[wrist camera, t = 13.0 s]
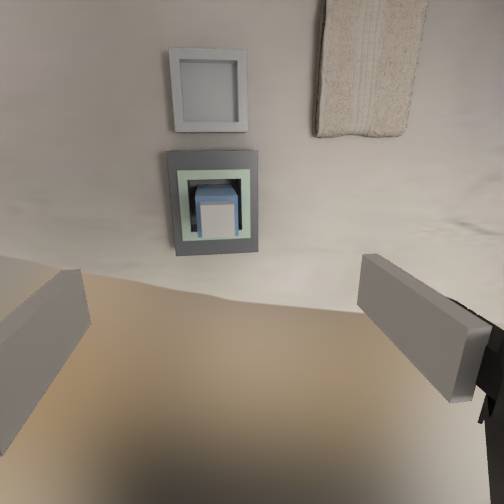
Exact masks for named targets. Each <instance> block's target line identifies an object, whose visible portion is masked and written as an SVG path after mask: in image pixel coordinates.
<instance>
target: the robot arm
mask: <svg viewBox="0 0 504 504" xmlns="http://www.w3.org/2000/svg"><path fill="white" fill-rule="evenodd" d="M357 305H358V306H359V307H360V308H361V309H362V310H363V311H364V312H365V313H366V315H367V316H368V317H369V318H370V319H371V320H372V321H373V322H374V323H375V324H376V325H377V326H378V327H379V328H380V329H381V330H382V332H383V333H384V334H385V335H386V336H387V337H388V338H389V339H390V340H391V341H392V342H393V343H394V344H395V345H396V346H397V347H398V349H399V350H400V351H401V352H402V353H403V354H404V355H405V356H406V357H407V358H408V359H409V360H410V361H411V362H412V363H413V365H414V366H415V367H416V368H417V369H418V370H419V371H420V372H421V373H422V374H423V375H424V376H425V377H426V378H427V379H428V380H429V382H430V383H431V384H432V385H433V386H434V387H435V388H436V389H437V390H438V391H439V392H440V393H441V394H442V395H443V396H444V398H445V399H446V400H447V401H448V402H449V403H458V402H466V401H472V398H473V394H474V391H475V387H476V385H477V386H478V387H479V388H481V389H482V390H483V391H484V392H485V393H486V396H485V399H484V403H483V406H482V410H481V413H480V416H479V420H478V423H480V424H482V423H483V420H485V434H486V446H487V460H488V473H489V486H490V499H491V504H504V330H502V329H500V328H499V327H497V326H496V325H494V324H493V323H491V322H489V321H488V320H486V319H485V318H483V317H481V316H480V315H477V314H476V313H475V312H473V311H472V310H470V309H467V307H465V306H464V305H462V304H461V303H459V302H457V301H455V300H453V299H450V298H448V297H445V296H443V295H442V294H440V293H439V292H437V291H436V290H434V289H432V288H431V287H429V286H428V285H426V284H425V283H423V282H421V281H420V280H418V279H417V278H415V277H413V276H412V275H410V274H409V273H407V272H406V271H404V270H402V269H401V268H399V267H398V266H396V265H395V264H393V263H391V262H390V261H388V260H387V259H385V258H383V257H382V256H380V255H379V254H363V255H362V264H361V273H360V282H359V291H358V300H357ZM90 325H91V320H90V315H89V311H88V305H87V300H86V295H85V290H84V286H83V280H82V276H81V270H80V269H77V270H62V271H60V272H59V273H58V274H57V275H56V276H54V277H53V278H52V279H51V280H50V281H48V282H47V283H46V284H45V285H44V286H42V287H41V288H40V289H39V290H38V291H36V293H34V294H33V295H32V296H31V297H29V298H28V299H27V300H26V301H24V302H23V303H22V304H21V305H20V306H18V307H17V308H16V309H15V310H14V311H12V312H11V313H10V314H9V315H8V316H7V317H5V318H4V319H3V320H2V321H1V322H0V456H3V455H4V453H5V452H6V451H7V449H8V448H9V446H10V445H11V443H12V442H13V440H14V439H15V437H16V436H17V434H18V433H19V431H20V430H21V428H22V427H23V425H24V424H25V422H26V421H27V419H28V417H29V416H30V415H31V413H32V412H33V410H34V409H35V407H36V406H37V404H38V403H39V401H40V399H41V398H42V397H43V395H44V394H45V392H46V391H47V389H48V388H49V386H50V385H51V383H52V382H53V380H54V379H55V377H56V375H57V374H58V373H59V371H60V370H61V368H62V367H63V365H64V364H65V362H66V361H67V359H68V358H69V356H70V355H71V353H72V352H73V350H74V349H75V347H76V346H77V344H78V343H79V341H80V340H81V338H82V337H83V335H84V334H85V332H86V331H87V329H88V328H89V326H90Z"/></svg>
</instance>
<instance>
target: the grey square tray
mask: <svg viewBox="0 0 504 504" xmlns="http://www.w3.org/2000/svg"><path fill="white" fill-rule="evenodd" d="M168 51H169V63H170V76H171V88H172V100H173V112H174V124H175V132H176V133H246V132H248V106H247V49H216V48H183V47H168Z"/></svg>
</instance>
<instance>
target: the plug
mask: <svg viewBox="0 0 504 504" xmlns="http://www.w3.org/2000/svg"><path fill="white" fill-rule="evenodd" d="M195 204H196V219H197V234H198V238H201V237H202V238H216V237H235V236H239V235H238V195H237V194H236V192H235V190H234V189H233V187H232V186H231V184H204V185H198V187H197V191H196V195H195Z"/></svg>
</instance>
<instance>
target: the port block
mask: <svg viewBox="0 0 504 504" xmlns="http://www.w3.org/2000/svg"><path fill="white" fill-rule="evenodd" d="M166 153H167V164H168V175H169V185H170V196H171V207H172V218H173V229H174V240H175V251H176V256H191V255H210V254H230V253H249V252H258V150H223V151H166ZM202 179H238V201H239V223H238V235H239V236H235V237H216V238H202V237H201V238H198V234H197V224H192V211H191V197H190V183H189V180H202Z"/></svg>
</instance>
